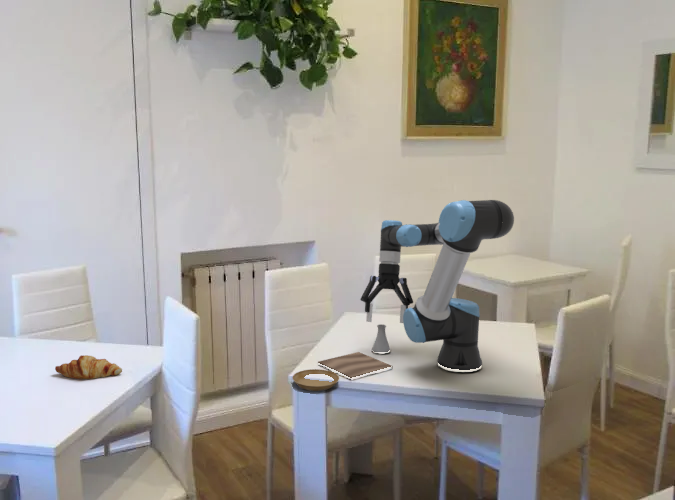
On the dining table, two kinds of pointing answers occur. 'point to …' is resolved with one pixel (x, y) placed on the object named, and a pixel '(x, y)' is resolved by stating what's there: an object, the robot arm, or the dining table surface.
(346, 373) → the walnut board
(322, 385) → the plant saucer
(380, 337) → the flask
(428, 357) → the dining table surface
